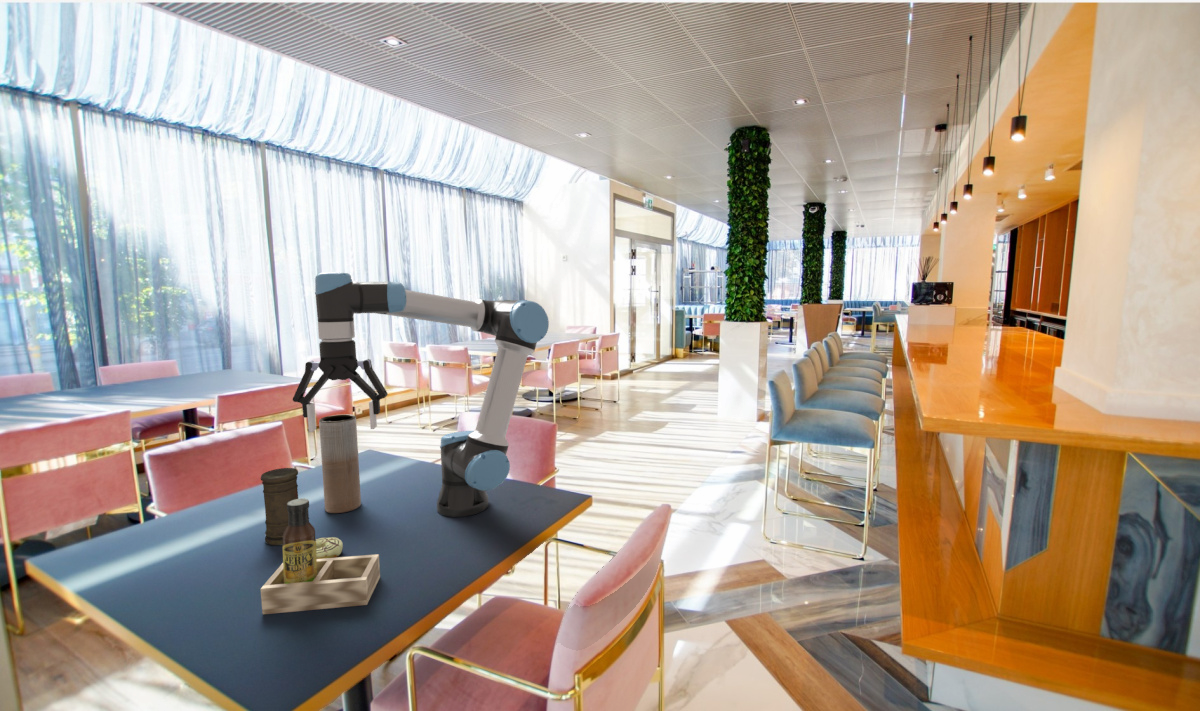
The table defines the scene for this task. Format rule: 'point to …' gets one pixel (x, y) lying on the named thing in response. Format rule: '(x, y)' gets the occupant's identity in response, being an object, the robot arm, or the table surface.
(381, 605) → the table surface
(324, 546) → the decorated donut
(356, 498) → the vase
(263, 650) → the table surface
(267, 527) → the container
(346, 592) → the caddy
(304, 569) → the sauce bottle
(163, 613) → the table surface
